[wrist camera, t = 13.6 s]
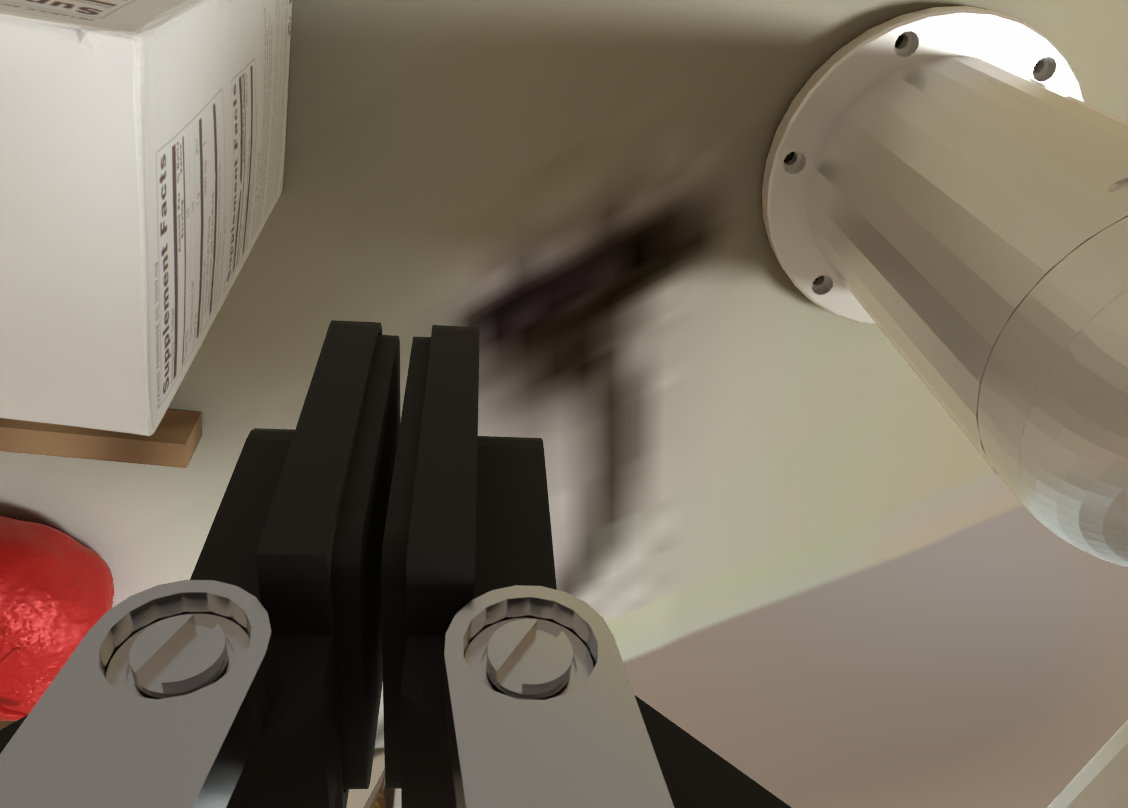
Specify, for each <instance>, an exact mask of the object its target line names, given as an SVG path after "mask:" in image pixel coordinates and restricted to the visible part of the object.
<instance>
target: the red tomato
mask: <svg viewBox="0 0 1128 808" xmlns="http://www.w3.org/2000/svg"><path fill="white" fill-rule="evenodd" d="M113 596H114V585H113V578H112V574H111V571H110V568H109V566H108V565H107V563H106V562H105V561H104V560H103V559H102V558H101V557H100V556H99V555H98V554H97V553H96V552H94V551H92V550H91V549H89V548H87V547H85V546H84V545H82V544H80V543H79V542H78V541H76V540H75V539H73V538H72V537H70V536H68V535H67V534H65V533H63V532H61V531H59V530H57V529H55V528H52V527H50V526H47V525H44V524H40V523H35V522H29V521H22V520H17V519H13V518H9V517H4V516H0V721H17V720H19V719H21V718H23V717H25V716H27V715H28V714H29V713H30V712H31V710H32V709H33V708H34V706H35V705H36V703H37V702H38V701H39V699H40V698H41V697H42V695H43V694H44V692H45V691H46V690H47V688H48V687H49V685H50V684H51V683H52V681H53V680H54V678H55V677H56V676H57V674H58V673H59V671H60V670H61V669H62V667H63V666H64V664H65V663H66V662H67V660H68V659H69V657H70V656H71V655H72V653H73V652H74V651H75V649H76V648H77V646H78V645H79V644H80V642H81V641H82V639H83V638H84V637H85V635H86V634H87V632H88V631H89V630H90V629H91V628H92V627H93V626H94V625H95V624H96V623H97V622H98V621H99V619H100V618H101V617H102V616H103V615H104V614H105V613H106V612H107V611H109V610H110V609H112V604H113Z"/></svg>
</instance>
